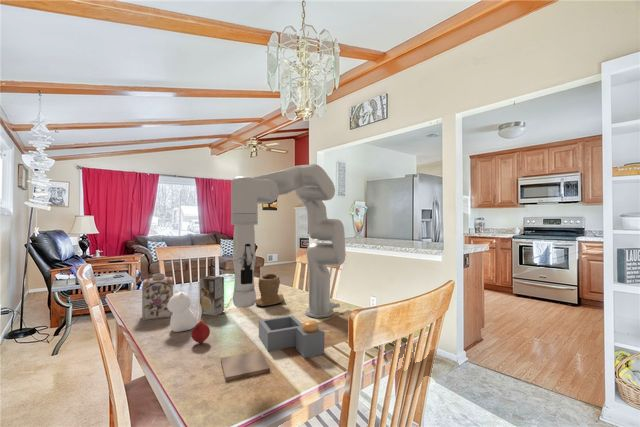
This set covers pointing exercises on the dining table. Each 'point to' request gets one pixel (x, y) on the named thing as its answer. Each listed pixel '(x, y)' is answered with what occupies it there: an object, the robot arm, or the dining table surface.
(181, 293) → the cat figurine
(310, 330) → the orange egg-shaped ball
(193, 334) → the onion
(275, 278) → the stone cup
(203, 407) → the dining table surface
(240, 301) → the plastic bottle
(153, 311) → the decorative jar
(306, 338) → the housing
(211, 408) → the dining table surface
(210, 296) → the coffee box
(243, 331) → the dining table surface
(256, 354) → the pad
